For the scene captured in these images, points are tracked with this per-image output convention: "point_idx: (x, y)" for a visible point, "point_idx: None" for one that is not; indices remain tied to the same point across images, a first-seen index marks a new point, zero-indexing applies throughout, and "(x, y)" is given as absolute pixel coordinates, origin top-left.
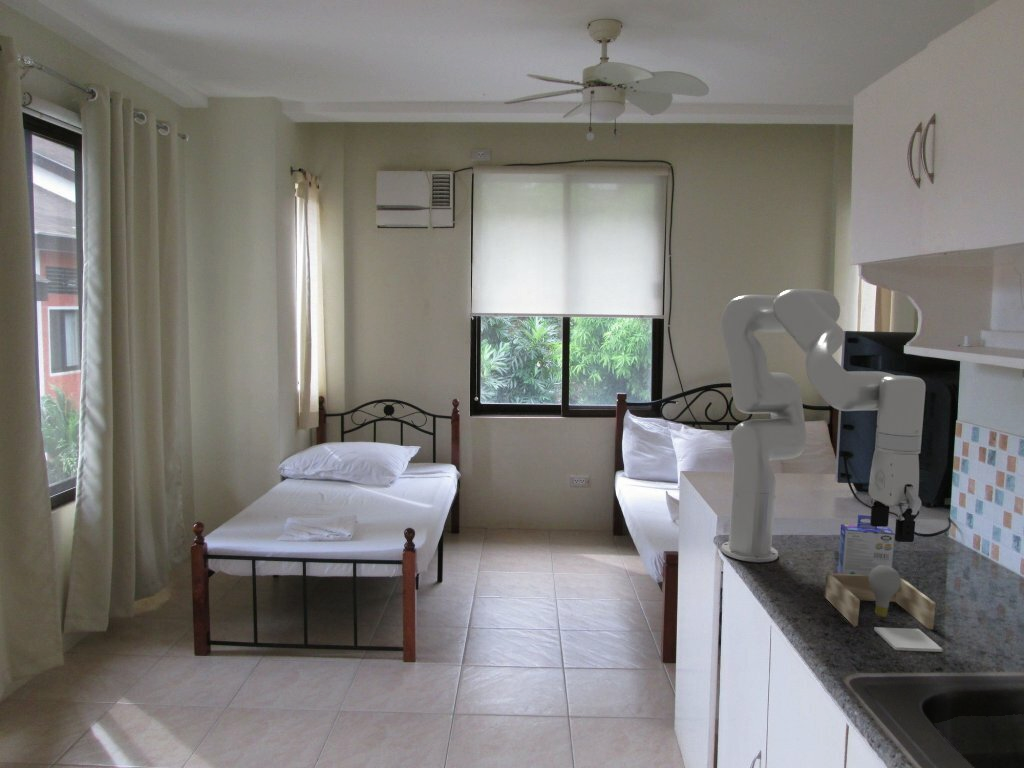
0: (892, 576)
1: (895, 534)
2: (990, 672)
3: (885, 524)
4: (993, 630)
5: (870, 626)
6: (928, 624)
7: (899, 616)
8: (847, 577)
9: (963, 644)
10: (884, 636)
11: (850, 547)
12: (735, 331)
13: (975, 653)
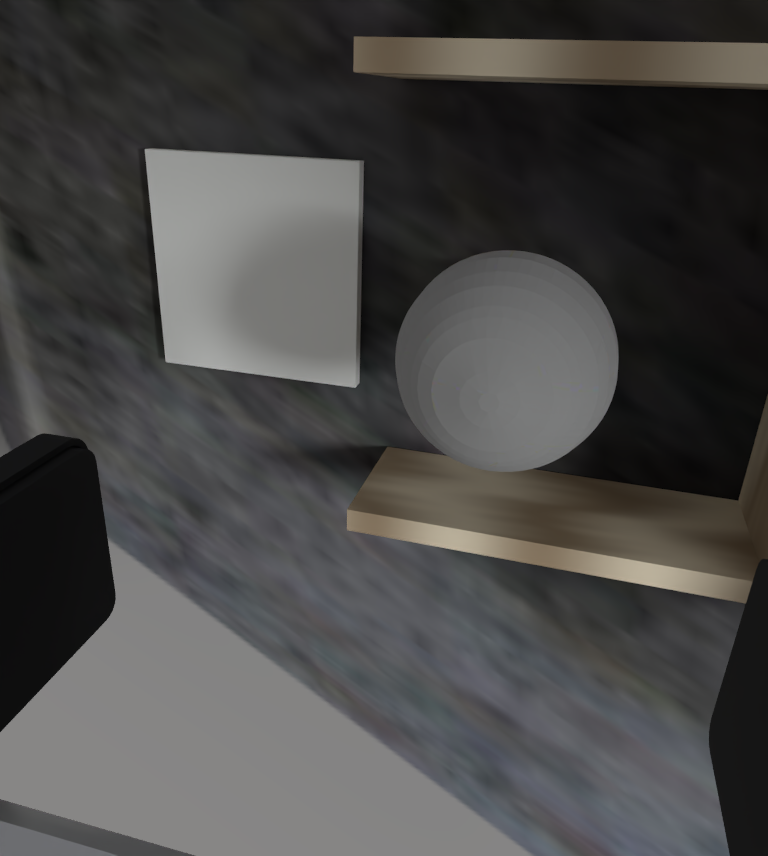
0: (401, 383)
1: (15, 465)
2: (46, 426)
3: (721, 730)
4: (390, 684)
5: (409, 164)
6: (387, 456)
7: None
8: None
9: (253, 489)
10: (253, 156)
11: None
12: None
13: (183, 479)
